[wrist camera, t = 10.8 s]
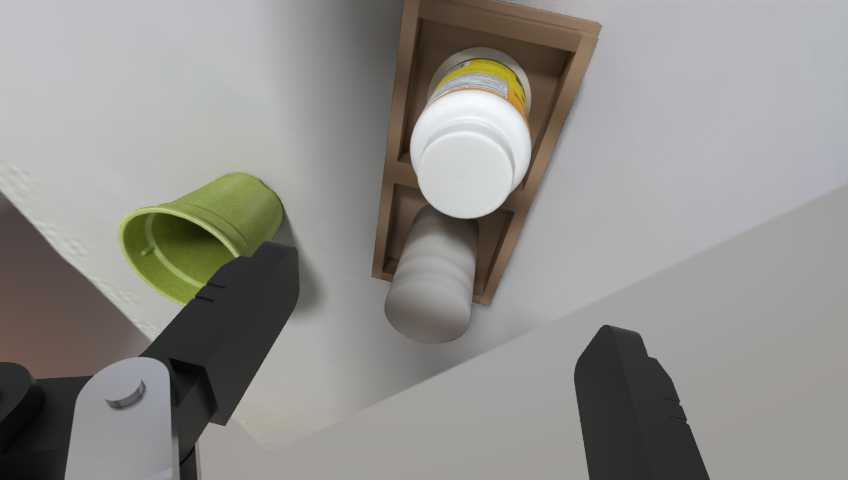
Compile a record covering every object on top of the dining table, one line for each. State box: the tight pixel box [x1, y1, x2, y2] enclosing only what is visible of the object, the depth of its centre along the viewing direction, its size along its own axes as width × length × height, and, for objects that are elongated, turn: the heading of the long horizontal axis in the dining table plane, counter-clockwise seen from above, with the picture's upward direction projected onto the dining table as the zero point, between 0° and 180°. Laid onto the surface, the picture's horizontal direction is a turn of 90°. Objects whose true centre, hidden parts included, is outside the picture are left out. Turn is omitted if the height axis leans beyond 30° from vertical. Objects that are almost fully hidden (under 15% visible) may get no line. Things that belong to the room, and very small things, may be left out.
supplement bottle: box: [410, 57, 531, 219], centre depth 20 cm, size 6×6×10 cm
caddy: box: [371, 0, 602, 343], centre depth 24 cm, size 21×11×10 cm, turn 170°
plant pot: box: [118, 173, 283, 307], centre depth 30 cm, size 9×9×9 cm
